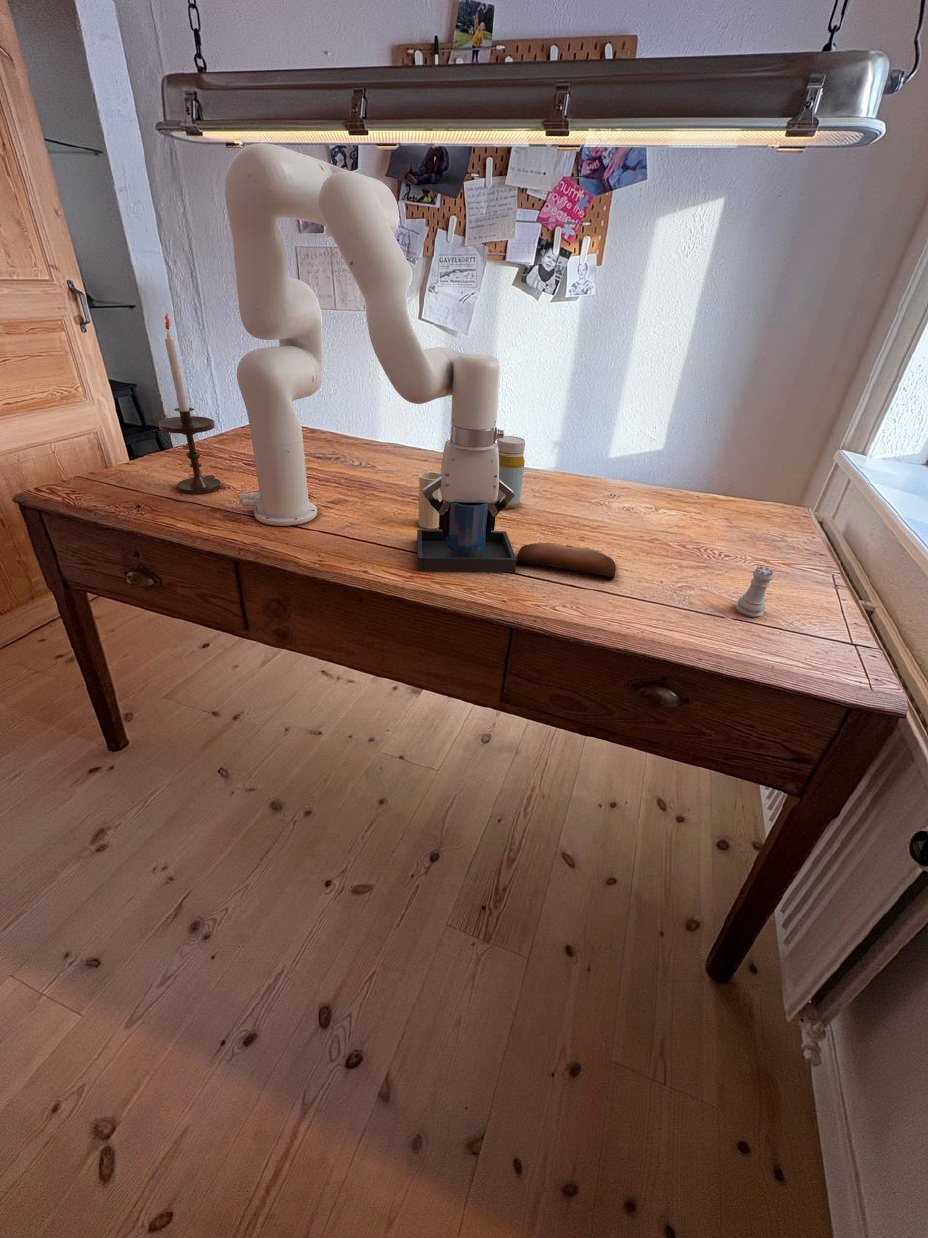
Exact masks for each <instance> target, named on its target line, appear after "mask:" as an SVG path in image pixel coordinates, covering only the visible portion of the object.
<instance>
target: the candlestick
mask: <svg viewBox="0 0 928 1238" xmlns="http://www.w3.org/2000/svg"><path fill="white" fill-rule="evenodd" d="M164 320H165V323H164V324H165V329H166V338H164V342H165V347H166V348H165V349H166V352H167V358H168V362H169V367H170V371H171V377H172V382H173V387H174V390H175V395H176V399H177V400H176V401H177V405H178V407H176V408H174V409H173V411H175V412H179V416H172V417H167V418H163V419H161V420H159V421H158V427H159V429H160V431H162V432H164V433H169V434H178V435H179V434H182V435H184V436H185V437H186V442H187V447H188V451H187V452H186V454H185V455H186V458H187V459H188V460H190V464H189V468H192V471H193V477H189V478H186V479H185V478H184V479H182V480H180V481H179V482H177V484H176V486H177V490H178V491H179V492H180V493H183V494H187V495H205V494H211V493H214V492H216V491H218V490H220V489H221V488H222V483H221V480H220V479H218V478H215V477H211V476H203V475H202V473H201V469H200V468H201V467H202V463H200V462H199V459H200V458H201V453H200V452H199V451H198V450H197V449H196V445H195V439H194V435H196V434H199V433H205V432H209V431H211V430H214V429H215V427H216V426H215V425H216V423H215V420H214V419H212V418H209V417H206V416H197V415H192V413H191V412H193V411H195V408H194V407H189V402H188V397H187V392H186V387H185V383H184V377H183V372H182V367H181V362H180V357H179V353H178V351H179V350H178V347H177V342H176V338H173V335H172V334H171V331H170V327H171V323H170V322H171V321H170V319H169V315H168V312H166V314H165V316H164Z"/></svg>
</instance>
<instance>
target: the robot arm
mask: <svg viewBox="0 0 928 1238" xmlns="http://www.w3.org/2000/svg"><path fill="white" fill-rule="evenodd" d="M224 198H225V206H226V212H227V216H228V221H229V222H228V223H229V226H230V232H231V237H232V243H233V244H232V245H233V258H234V271H235V281H236V290H237V301H238V311H239V316H240V320H241V323H242V325H243V328H244V329H245V330H246V332H247V333H248V334H249V335H250V336H252V337H254V338H256V339H259V340H262V341H263V340H264V341H276V340H278V343H279V344H278V345H279V346H277V345H276V346H275V345H274V346H269V347H261V348H257V349H256V348H255V349H253V350H250V351H249V352H246V353H245V354H244V355H243V356H242V357H241V358H240V360H239V362H238V364H237V368H236V380H237V385H238V388H239V391H240V395H241V397H242V400H243V402H244V406H245V410H246V413H247V417H248V418H247V420H248V425H249V431H250V437H251V443H252V451H253V457H254V464H255V465H254V466H255V472H256V479H257V485H258V486H257V487H258V492H255V493H241V492H240V493H239V494H238V500H239V503H240V504H242V507H254V511H253V514H254V519H256V520H257V522H260V523H262V524H265V525H270V526H278V527H289V526H297V525H301V524H305V523H308V522H310V521H313V520H314V519H315V518H316V517H317V516H318V508H317V506H316V505H315V504H314V503H312V502H310V501H309V500H310V499H309V489H308V477H307V468H306V457H305V445H304V436H303V429H302V424H301V420H300V418H299V416H298V414H297V411H296V410H295V407H294V404H293V402H294V401H297V400H301V399H304V398H307V397H310V396H313V395H314V394H316V393H317V392H318V390H319V389H320V388H321V385H322V382H323V377H324V337H323V336H324V335H323V334H324V333H323V332H324V331H323V329H324V328H323V314H322V307H321V305H320V302H319V298H318V297H317V294H316V293H315V292H314V291H313V289H312V287H310V286H309V285H308V284H307V283H305V282H304V281H302V280H300V279H297V278H294V277H293V278H292V277H290V268H289V264H290V263H289V262H290V261H289V250H288V245H287V242H286V239H285V235H284V233H283V230H282V228H281V226H280V224H279V220H280V219H281V218H288V219H292V220H297V221H303V222H309V223H313V224H314V223H315V224H317V225H320V226H324V227H326V228H327V230H328V232H329V233H330V235H331V238H332V239H333V241H334V244H335V245H336V246H337V248H338V251H339V252H340V254H341V257H342V259H343V261H344V262H345V264H346V266H347V268H348V270H349V271H350V274H351V276H352V278H353V280H354V281H355V283H356V285H357V287H358V289H359V291H360V293H361V295H362V297H363V299H364V303H365V317H366V318H365V319H366V323H367V328H368V335H369V340H370V343H371V346H372V349H373V351H374V354H375V355H376V358H377V360H378V362H379V364H380V366H381V368H382V369H383V372H384V373H385V375H386V377H387V379H388V380H389V382H390V384H391V385H392V387H393V389H394V390H395V391H396V393H397V394H398V395H399V396H400V397H401V398H402V399H404V401H407V402H408V403H411V404H414V405H415V404H416V405H423V404H427V403H429V402H432V401H435V400H436V399H441V398H445V397H449V396H450V397H451V410H450V411H451V413H450V414H451V415H450V433H449V439H447V440H445V443H444V448H443V451H442V458H441V465H440V466H441V467H440V474H441V477H439V478H438V479H436V480H435V481H433V482H432V483H431V484H429V485H428V486H426V487H425V488H424V489H423V495H424V496H425V497H426V499H427V500H428V501H429V502H430V504H431V505H432V506H433V507H434V508H435V509H436V510H437V512H438V513H439V527H438V530H442V533H443V536H446V535H447V522H448V515H447V509H448V508H449V506H450V502H454V503H481V504H484V503H488V509H489V511H488V521H487V532H486V536H488V537H491V531H495V526H496V517H497V516H498V515H499V513H500V512H501V511H502V510H505V509H504V508H505V507H506V505H507V504H508V503H509V502H510V501H511V500H512V499H513V497H514V496H515V494H514V492H513V491H512V490H511V489H510V488H509V487H508V486H507V485H505V484H504V483H503V482H502V481H501V480H499V453H498V445H497V439H499V438H503V437H504V436H505V430H504V429H500V428H498V427H497V420H498V419H497V418H498V408H499V397H500V386H501V372H502V365H501V362H500V360H499V358H497V357H496V356H493V355H489V354H484V353H464V352H460V351H457V350H454V349H450V348H447V347H441V346H435V347H430V348H423V345H422V344H421V341H420V340H419V338H418V336H417V334H416V331H415V329H414V327H413V325H412V323H411V319H410V316H409V313H408V306H407V304H408V303H407V298H408V297H407V295H408V293H409V290H410V286H411V283H412V281H413V270H412V267H411V266H410V263H409V262H408V260H407V258H406V255H405V253H404V252H403V249H402V248H401V246H400V244H399V241H398V240H397V238H396V236H395V235H396V233H397V230H398V228H399V224H400V210H399V204H398V201H397V200H396V197H395V195H394V193H393V192H392V190H391V189H390V188H389V186H387V185H386V184H385V183H384V182H383V181H381V180H379V179H377V178H374V177H371V176H367V175H365V174H361V173H359V172H356V171H351V170H349V169H346V168H343V167H340V166H337V165H335V164H332V163H329V162H328V161H324V160H322V159H319V158H316V157H314V156H310V155H307V154H305V153H301V152H298V151H295V150H294V149H290V148H287V147H284V146H281V145H277V144H272V143H263V142H262V143H261V142H260V143H254V144H253V143H252V144H248V145H246V146H245V147H243V148H242V149H240V150H239V151H238V152H237V153H236V154H235V155H234V157H233V158H232V160H231V161H230V162H229V166H228V168H227V171H226V175H225V183H224ZM439 488H440V492H441V496H442V500H441V501H439V500H438V499H437V498H436V497H435V496H434V495H433V492H434V491H436V490H437V489H439ZM498 489H499V490H500V491H501V492H503V493H504V496H503V497H502V498H501V499H499V500H498V501H497V502H496V503H495V504H494V502H495V501H496V500H497V497H498Z"/></svg>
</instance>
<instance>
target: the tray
mask: <svg viewBox="0 0 928 1238" xmlns="http://www.w3.org/2000/svg"><path fill="white" fill-rule="evenodd" d="M416 548H417V549H416V550H417V570H418V572H456V573H457V572H458V573H462V572H463V573H466V572H468V573H516V569H517V556H516V555H515V551H514V549H513V546H512V544H511V541H510V539H509V535H508V533H507V531H506V530H505V531H504V530H503V531H502V530H494V531H491V537H488V536H486V544H485V548H484V549H483V550H482V551H480V552H476V553H459V552H455V551H452V550H450V549H449V548H448V547H447V546H446V536H443V533H442V530H439V529H427V528H420V529H417V530H416Z"/></svg>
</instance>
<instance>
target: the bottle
mask: <svg viewBox="0 0 928 1238" xmlns="http://www.w3.org/2000/svg"><path fill="white" fill-rule="evenodd" d="M496 443H497V445H498V453H499V480H501V481H502V482H503V483H504V484H505V485H507V486H508V487H509V488H510V489H511V490H512V491H513V492H514V494H515V496H514V497H513V499H512V500H511V501H510V502H509V503H508V504H507V505H506V507H505V508H504V509H503V510H513V509H516V508H517V507H518V506H519V505H520V504H521V503H520V502H521V496H522V489H523V479H524V473H525V472H524V471H525V456H524V455H525V448H526V447H525V446H526V439H524V438H523V437H520V436H513V435H504V437H503V438H499V439H497V441H496ZM503 496H504V493H503V492H501V491H500V490H499V489H498V497H497V500H496V501H495V502H494V504H495V503H496V502H497V501H498V500H499V499H501V498H502V497H503Z"/></svg>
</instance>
